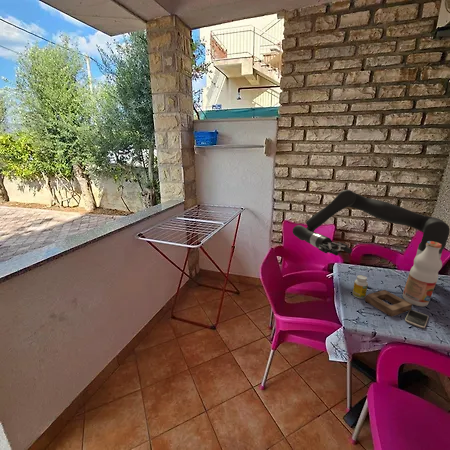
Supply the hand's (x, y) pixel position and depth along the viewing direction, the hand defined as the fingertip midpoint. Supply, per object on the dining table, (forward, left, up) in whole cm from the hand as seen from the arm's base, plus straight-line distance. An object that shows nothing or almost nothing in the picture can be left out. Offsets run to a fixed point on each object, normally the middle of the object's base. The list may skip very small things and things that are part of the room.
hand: (344, 252), depth 117 cm
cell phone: (-7, +32, -18) cm, 37 cm away
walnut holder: (-5, +21, -17) cm, 28 cm away
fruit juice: (-20, +23, -17) cm, 35 cm away
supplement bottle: (0, +11, -17) cm, 21 cm away
